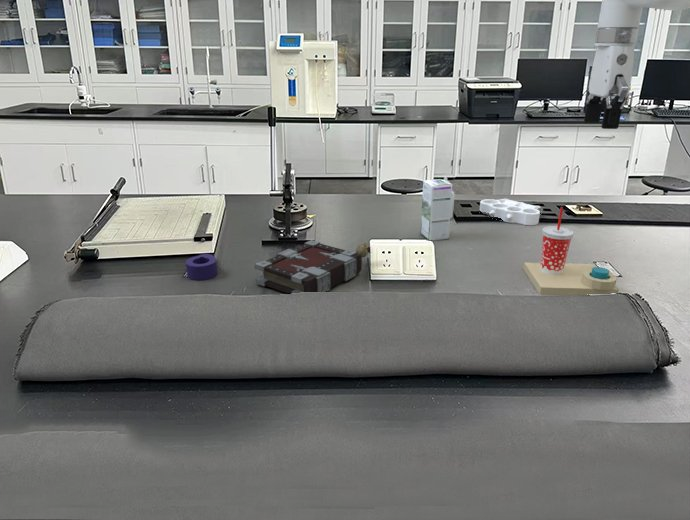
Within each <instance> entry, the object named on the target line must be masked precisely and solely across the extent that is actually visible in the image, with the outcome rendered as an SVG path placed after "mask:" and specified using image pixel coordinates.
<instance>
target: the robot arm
mask: <svg viewBox="0 0 690 520" xmlns="http://www.w3.org/2000/svg"><path fill="white" fill-rule="evenodd" d="M644 8H647V9H654V10H655V9H656V10H664V11H665V10H666V11H672V12H673V11H682V10H690V0H601V5H600V10H599V17H598V22H597V28H596V35H595V41H594V47H596V50H595V54H594V58H593V63H592V67H591V72H590V76H589V81H588V91H587V98H586V106H585V113H584V118H583V121H584V122H585V123H600V120H601V115H602V110H603V105H604V104H603V103H602V102H603V99H605V101H606V102H605V103H606V107H605V108H604V110H603V116H602V120H601V121H602V122H601V129H605V130H617V129H618V128H619V127H620V121H621V115H622V111H623V108H624V105H625V104H624V103H625V102H626V100H627V97H628V96H629V94H630V90H631V86H632V85H631V84H632V77H633V71H634V65H635V64H634V63H635V62H634V61H635V47H636V44H637V40H638V35H639V30H640V26H641V25H640V23H641V20H642V14H643V10H644Z"/></svg>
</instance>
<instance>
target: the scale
mask: <svg viewBox="0 0 690 520" xmlns="http://www.w3.org/2000/svg"><path fill="white" fill-rule="evenodd" d="M540 265H541V262H529V261H528V262H523V267H522V270H523V271H524V273H525V274H526V276H527V277H528V279H529V280H530V282H531V283H532V285H533V286H534V289H536V291H537V292H538V294H539V295H540V296H541V295H544V296H545V295H546V296H547V295H548V296H577V295H587V294H588V295H589V294H611V293H618V292H619V289H618V288H617V286H616V284H617V280H618V277H617V276H616V275H615V274H614V273H611V272H609V277H608V279H597V278H594V277H592V276H591V272H592V268H594V267H597V266H596V265H595V264H594V263H570V262H569V263H567V262H565V266H564V270H563V273H562V274H561V275H549V274H545V273H543V272H541V270H540Z"/></svg>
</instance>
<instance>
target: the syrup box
mask: <svg viewBox="0 0 690 520" xmlns="http://www.w3.org/2000/svg"><path fill="white" fill-rule="evenodd" d="M449 182H450V181H449ZM449 182H447V181H445V180H444V178H443V179H442V178H432V179H426V180H423V181H422V195H421V196H422V197H421V216H420V217H421V218H420V235H421V236H423V237H424V238H425V239H427V240H428V241H430V240H432V241H442V240H443V241H444V240H449V239H450V229H451V228H450V227H451V226H450V225H451V224H450V223H451V219H450V213H451V198H452V191H453V183H451V182H450V183H449Z"/></svg>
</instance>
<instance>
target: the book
mask: <svg viewBox="0 0 690 520" xmlns="http://www.w3.org/2000/svg"><path fill="white" fill-rule="evenodd" d="M370 248H371V247H370V246H368V243H367V242H365V243H362V244H359V245H357V247H356V249H355V251H354V250H350V249H343V248H338V247H335V246H331V245H327V244H324V243H321V242H320V241H317V240H313V239H310V240H308V241H306V242H304V244H302V245H300V246H298V247H295V248H293V249H292V248H287V249H285V250H281V252H278V253H275V254H274V256H273V257H271V258H269V259H267V260H260V261H258V262H256V263H254V270H258V271H261V272H263V273H262V274H263V275H260V276H257V278H255V284H257V285H258V286H262V287H268V288H271V289H274V290H277V291H280V292H282V293H285V294H288V293H300V292H326V291H327V292H329V291H330V290H331V288H333V287H335V286H338V285H339V284H341V283H342V282H347V281H349V280H352V279H353V278H354V277H356V276H357V274H359V273H360V272H361V271H362V265H363V260H362V258H366V257H367V256H368V253H371V252H370ZM327 292H326V293H327Z"/></svg>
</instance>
